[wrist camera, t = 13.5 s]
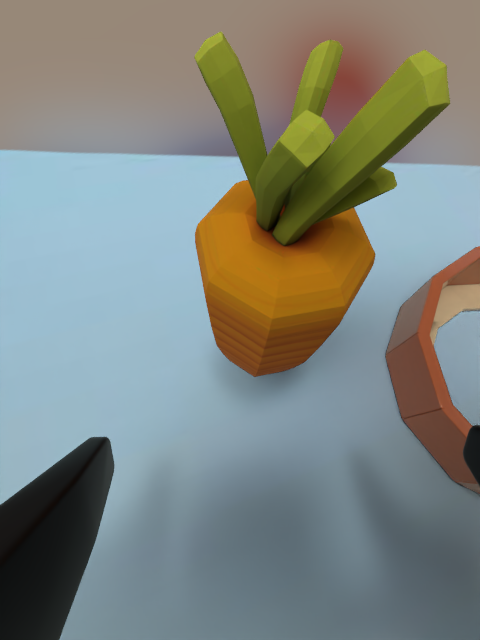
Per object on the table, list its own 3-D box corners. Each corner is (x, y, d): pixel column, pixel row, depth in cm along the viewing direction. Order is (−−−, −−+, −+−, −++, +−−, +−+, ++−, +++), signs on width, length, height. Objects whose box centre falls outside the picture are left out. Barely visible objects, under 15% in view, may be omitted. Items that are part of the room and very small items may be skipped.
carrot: (195, 348, 18) (87, 2, 5) (265, 306, 19) (347, -68, 6) (244, 424, 17) (308, 237, 3) (318, 372, 18) (604, 69, 4)
